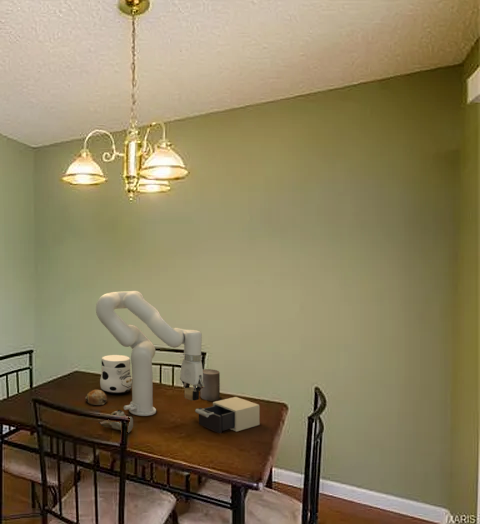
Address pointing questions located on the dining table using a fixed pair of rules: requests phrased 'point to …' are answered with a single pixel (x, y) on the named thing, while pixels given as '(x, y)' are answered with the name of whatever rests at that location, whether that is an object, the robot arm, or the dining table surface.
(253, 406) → the cabinet
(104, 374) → the milk container
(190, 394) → the block
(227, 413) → the drawer
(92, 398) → the bread roll
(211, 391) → the pillar candle
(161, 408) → the dining table surface
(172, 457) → the dining table surface
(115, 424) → the ceramic sculpture
